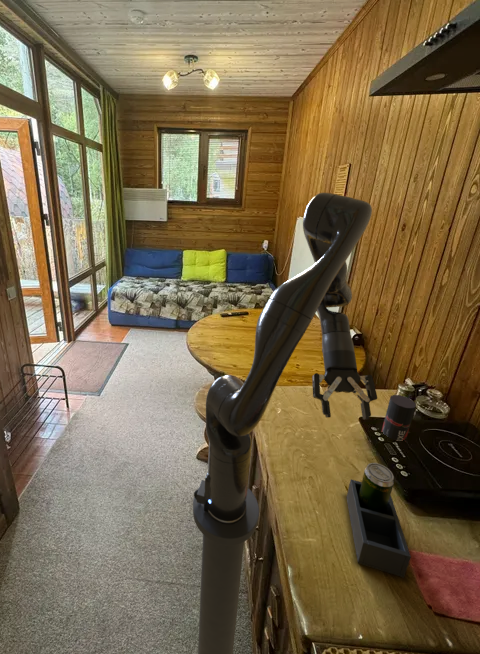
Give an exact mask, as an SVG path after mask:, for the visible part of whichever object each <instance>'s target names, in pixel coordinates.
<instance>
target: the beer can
mask: <svg viewBox="0 0 480 654" xmlns="http://www.w3.org/2000/svg"><path fill="white" fill-rule="evenodd" d="M394 479H395V476H394V474H393V472H392V471H391V470H390V468H388V467H387V466H385V465H383V464H382V463H378V462H370V463H368V464H367V465H366V467H365V468H364V471H363V475H362V480H361V482H362V483H361V487H360V491H359V495H358V500H359V504H360V507H361V508H364V509H368V510H372V511H375V512H379V513H383V514H385V512H386V508H387V505H388V501H389V498H390V495H391V496H392V491H393V488H394V484H395V480H394Z"/></svg>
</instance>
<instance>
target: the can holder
mask: <svg viewBox="0 0 480 654" xmlns="http://www.w3.org/2000/svg"><path fill="white" fill-rule="evenodd" d="M361 483H362V481H359V480H355V479H350V480H349V485H348V489H347V493H346V496H345V497H346V503H347V509H348V514H349V520H350V521H349V522H350V527H351V532H352V538H353V543H354V549H355V554H356V561H357V564H360V565H362V566H366V567H368V568H372V569H375V570H378V571H381V572H385V573H388V574H391V575H394V576H397V577H401V578H405V576H406V573H407V570H408V567H409V564H410V561H411V558H412V555H411V553H410V549H409V547H408V543H407V540H406V537H405V534H404V532H403V528H402V525H401V523H400V518H399V516H398V514H397V510H396V507H395V504H394V501H393V498H392V494H391V495H390V498H389V501H388V505H387V508H386V512H385V514H383V513H379V512H375V511H372V510H368V509H364V508H361V507H360V504H359V500H358V495H359V491H360V487H361Z"/></svg>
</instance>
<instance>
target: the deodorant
mask: <svg viewBox="0 0 480 654" xmlns="http://www.w3.org/2000/svg"><path fill="white" fill-rule="evenodd" d="M416 407H417V404H416V403H415V402H414V400H412V399H411V398H409V397H407V396H405V395H400V394H392V395H390V397H389V401H388V405H387V409H386V413H385V415H384V416H385V417H384V420H383V424H382V427H381V432H383V434H384V435H386V436H387V437H389V438H391V439H393V440H396V441H403V440H405V439H406V440H407V437H408V434H409V431H410V428H411V424H412V420H413V416H414V413H415V410H416Z"/></svg>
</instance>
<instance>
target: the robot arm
mask: <svg viewBox="0 0 480 654" xmlns="http://www.w3.org/2000/svg"><path fill="white" fill-rule="evenodd" d="M372 213H373V207H372V205H371V203H369V202H368V201H365V200H362V199H358V198H354V197H351V196H345V195H341V194H337V193H332V192H319V193H317V194H316V195H314V196H313V197H312V198H311V200H310V201H309V203H308V204H307V205H306V208H305V210H304V213H303V218H302V231H303V235H304V238H305V240H306V243H307V245H308V248H309V250H310V254H311V256H312V258H313V261H314V263H313V265H311V266H310V267H308V268H307V269H305V270H303V271H302V272H300V273H298V274H297V275H295V276H293V277H292V278H291V277H290V279H288V280H286V281H285V282H283V283H281V284H280V285H279V286H278V287H276V288H275V289H274V290H273V291H272V293H270V296H269V298H268V299H267V302H266V303H265V305H264V307H263V309H262V311H261V312H260V314H259V316H258V318H257V322H256V327H255V335H254V337H255V338H254V353H253V360H252V364H251V367H250V370H249V372H248V374H247V376H246V379H245V380H244V381H243V380H241V379H240V378H239V377H237V376H235V375H232V374H224V375H221V376H219V377H218V378H216V379H215V380H214V381H213V382H212V383H211V385H210V387H209V388H208V391H207V393H206V398H205V431H206V436H207V439H208V458H207V459H208V461H207V472H206V475H205V478H204V480H203V479H201V480H200V484H199V486H198V488H199V489H198V488H197V489H196V490H194V492H193V498H194V497H195V499H196V500H197V502H198V503H201V504H204V511H206V512H208V513H209V514H210V516H211V517H212V518H213V519H214V520H216V521H217V522H219V523H222V524H234V523H236V522H238V521H240V520H241V519H242V518H243V516H244V514H245V511H246V497H247V490H248V488H249V486H248V485H249V474H250V465H251V457H252V456H251V454H252V445H253V443H252V441H253V440H252V437H251V434H250V433H251V432H253V430H254V429H255V428H256V427H257V426H258V424H259V423H260V421H262V418H263V417H264V414H265V412H266V410H267V408H268V406H269V404H270V401H271V399H272V397H273V394H274V392H275V389H276V388H277V385H278V383H279V381H280V378H281V376H282V375H283V372H284V370H285V368H286V367H287V365H288V363H289V361H290V359H291V358H292V355H293V353H294V352H295V350H296V348H297V346H298V345H299V343H300V341H301V340H302V338H303V336H304V335H305V333H306V331H307V330H308V328H309V326H310V325H311V322H312V321H313V319H314V317H315V315H316V314H317V315H318V319H319V323H320V332H321V352H322V357H323V366H324V367H323V368H324V374H320V373H317V372H316V373H314V374H313V375H312V376H311V380H312V381H311V382H312V397H313V398H314V399H317V400H319V401H320V402H321V403H320V404H321V411H322V414H323V416H325V418H328V419H329V418H332V417H331V416H332V415H331V406H330V405H331V404H330V401H329V399H330V397H331V396H332V395H333V393H334V392H335V393H336V394H337V393H345V394H350V393H352V394H353V396H355V397H356V398H357V399H358V400H359V401H360V402H361V403H360V404H359V405H360V410H361V418H362V419H363V420H370V417H372V412H371V406H370V404H371V402H372V401H377V400H378V395H377V390H376V386H375V382H374V377H373V375H372V374H367V375H360V374H359V372H358V366H357V365H358V364H357V359H356V352H355V345H354V341H353V338H352V334H351V327H350V326H351V325H350V321H349V317H348V315H347V314H346V313H343V312H338V311H333V310H329V308H339V307H345V306H347V305H349V304H350V303H351V301H352V300H353V291H352V288H351V286H350V284H349V282H348V281H347V276H348V265H347V260H348V258H349V257H350V255H351V254H352V252H353V251H354V249H355V247H356V246H357V245H358V243H359V241H360V240H361V239H362V237H363V235H364V233H365V231H366V229H367V228H368V225H369V223H370V220H371V219H372ZM323 380H324V382H325V383H326V384H327V385H328V386H327V388H326V389H325V390H324V392H323V394H321V383H322V382H323ZM360 382H361V383H362V384H363V385H364V386H365V391H366V393H365V392H364V390H363V389H362V388H361V387H360V386H359V383H360Z"/></svg>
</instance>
